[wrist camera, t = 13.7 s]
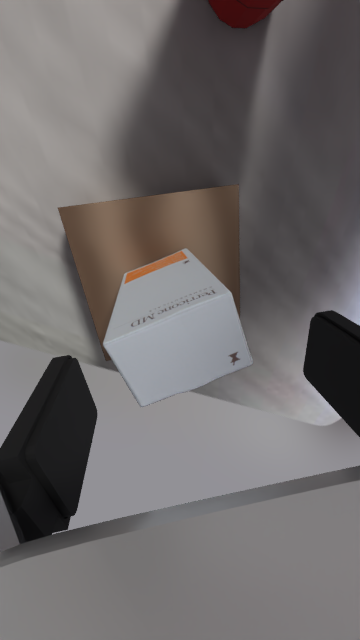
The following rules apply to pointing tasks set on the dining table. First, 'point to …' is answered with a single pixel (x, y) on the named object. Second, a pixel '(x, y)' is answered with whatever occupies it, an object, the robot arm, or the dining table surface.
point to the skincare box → (174, 329)
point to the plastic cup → (242, 11)
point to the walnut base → (151, 241)
